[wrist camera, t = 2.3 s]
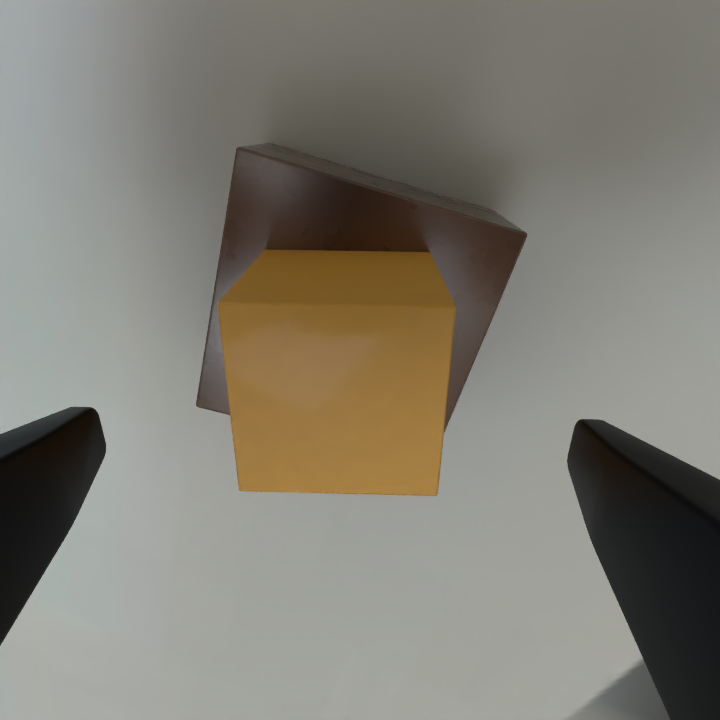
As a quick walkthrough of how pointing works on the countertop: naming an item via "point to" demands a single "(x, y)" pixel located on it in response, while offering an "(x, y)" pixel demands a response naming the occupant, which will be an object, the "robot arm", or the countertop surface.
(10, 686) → the countertop surface
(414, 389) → the ochre cube
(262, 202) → the walnut block
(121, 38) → the countertop surface
